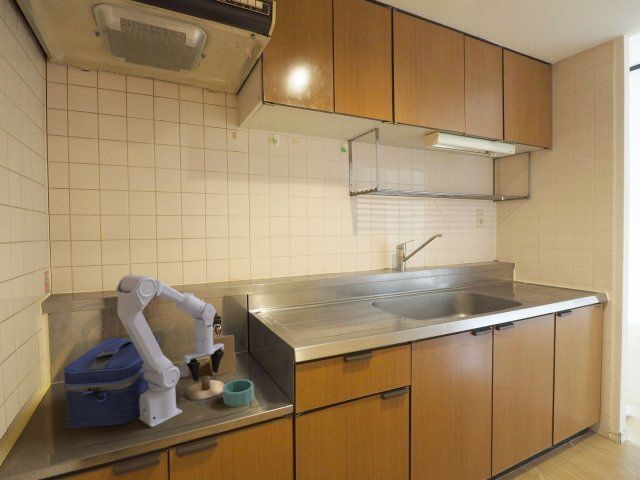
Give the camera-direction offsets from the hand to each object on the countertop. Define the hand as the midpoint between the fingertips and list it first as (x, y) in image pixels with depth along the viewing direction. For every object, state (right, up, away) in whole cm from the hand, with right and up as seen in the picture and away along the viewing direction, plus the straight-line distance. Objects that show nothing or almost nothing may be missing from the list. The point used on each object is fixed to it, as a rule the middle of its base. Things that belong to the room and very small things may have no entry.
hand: (205, 376), depth 116 cm
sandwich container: (-1, -5, +21) cm, 21 cm away
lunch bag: (-26, -7, -6) cm, 28 cm away
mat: (0, -6, 0) cm, 6 cm away
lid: (0, -5, 0) cm, 5 cm away
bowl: (+13, -6, -5) cm, 15 cm away
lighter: (-11, -5, +13) cm, 18 cm away
